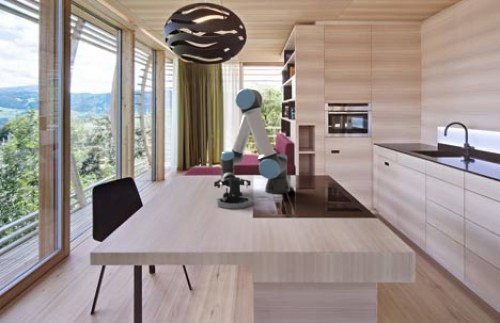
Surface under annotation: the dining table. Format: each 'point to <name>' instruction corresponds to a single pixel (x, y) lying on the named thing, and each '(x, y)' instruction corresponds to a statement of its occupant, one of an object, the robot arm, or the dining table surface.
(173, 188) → the dining table surface
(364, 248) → the dining table surface
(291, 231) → the dining table surface
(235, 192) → the scope
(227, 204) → the dark grey octagonal bowl
